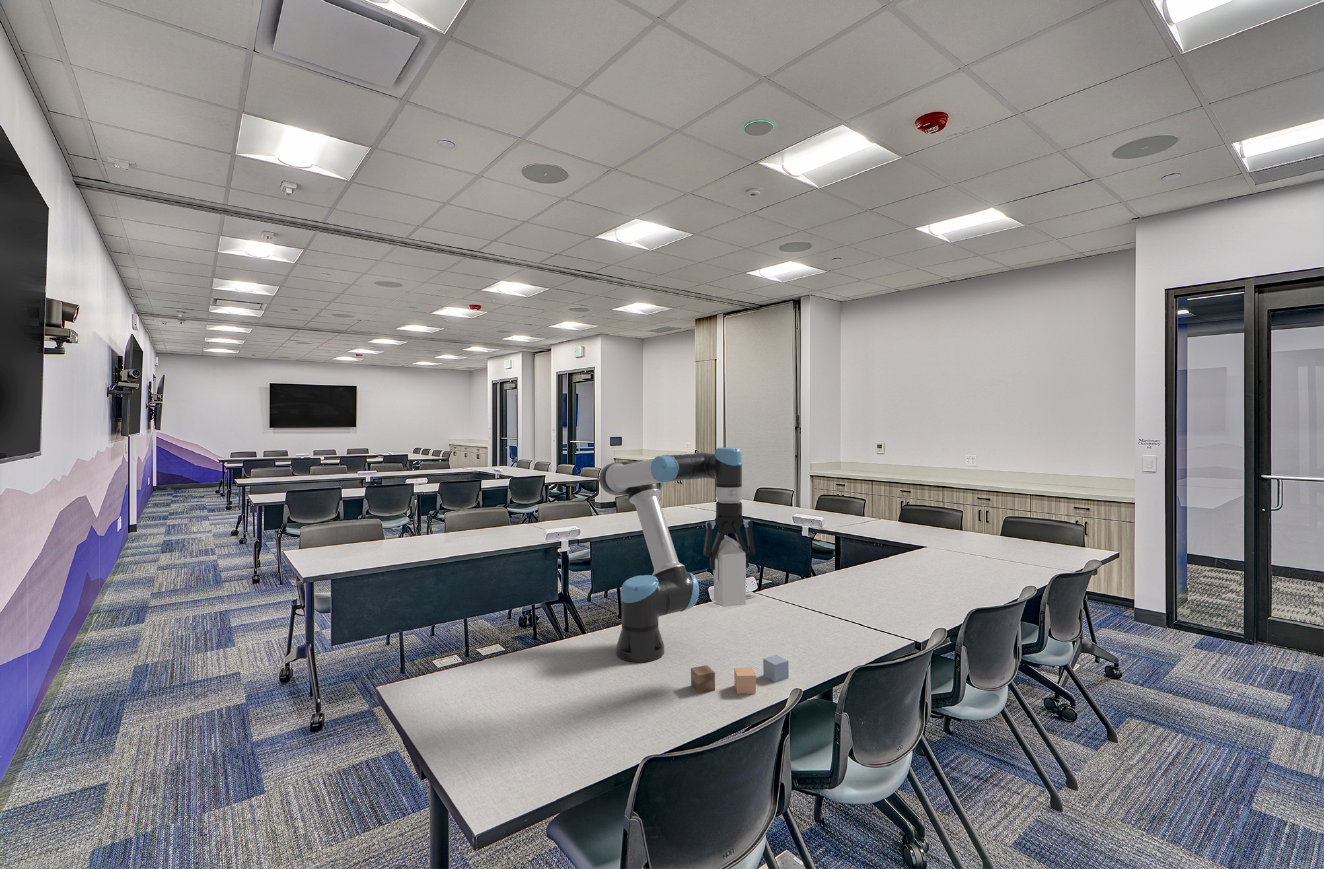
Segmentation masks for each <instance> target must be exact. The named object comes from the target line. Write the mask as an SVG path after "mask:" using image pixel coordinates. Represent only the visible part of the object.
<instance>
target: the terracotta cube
mask: <svg viewBox="0 0 1324 869" xmlns="http://www.w3.org/2000/svg"><path fill="white" fill-rule="evenodd" d="M733 669H734V670H733V671H734V678H733V680H734V684H733V686H734V688H735V691H737V692H736V694H737V695H739V694H738V693H756V694H757V690H756V689H757V687H756V686H757V681H756V680H757V675H756V674H755V673H756V672H755V670H754V668H753V667H734V668H733Z"/></svg>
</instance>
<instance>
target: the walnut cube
mask: <svg viewBox="0 0 1324 869" xmlns="http://www.w3.org/2000/svg"><path fill="white" fill-rule="evenodd" d="M690 686H691V687H692V688H693V690H694V691H695V692H696V693H697V694H704V693H709V692H713V691H716V672H715V671H714V670H713V669H712V668H711V667H710V666H709V664H708V665H707V664H706V665H701V666H700V665H699V666H695V667H691V668H690Z"/></svg>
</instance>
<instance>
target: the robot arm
mask: <svg viewBox="0 0 1324 869" xmlns="http://www.w3.org/2000/svg"><path fill="white" fill-rule="evenodd" d="M742 458H743V457H742V450H741V449H740V448H739V447H717V448H716V449H715V452H714V453H708V452H707V453H706V452H694V453H688V454H687V453H685V454H662V455H657V456H655V457H654V458H651V459H646V460H644V459H643V460H642V459H640V460H636V461H634V460H633V461H617V462H611V463H609V464H607V465H605V466H604V467H603V468H602V470H600V472H599V478H598V483H599V485H600V487H601V488H602V490H603V491H604V492H606V494H607V493H608V494H610V495H612V496H627V498H628V502H629V503H631V504H632V505H634V506H635V509H636V513H637V516H638V519H639V523H640V526H641V530H642V533H643V536H644V539H645V543H646V546H647V549H648V553H649V555H650V559H651V563H652V566H653V573H652V575H651V574H644V575H642V574H641V575H635V576H633V577H629V578H628V579H626V580H625V581H624V582H623V584H622V585H621V593H620V600H621V602H620V603H621V608H620V609H621V629H620V633H619V638H618V640H617V644H616V656H617V657H618V658H619V659H620V660H623V661H627V662H632V663H646V662H647V663H648V662H651V661H655V660H659V659H660V658H662V657H663V656H664V654H665V644H664V640H663V637H662V635H661V631H660V628H659V617H662V616H663V617H664V616H667V615H670V614H675V613H678V612H684V611H686V610H688V609H689V610H690V609H691V608H693V607H694V606H695V605H696V604H697V602H698V599H699V594H700V586H699V581H698V580H697V577H696V576H695V575H694V574H693V573H692V572H690V571H689V572H688V571H687V569H686V566H685V565H684V564H683V563H680V562H679V559H678V556H677V551H676V549H675V547H674V543H673V539H672V537H671V536H672V535H671V534H670V529H669V526H668V523H667V521H666V518H665V515H664V511H663V509H662V505H661V502H660V499H659V497H660V495H661V493H662V491H661V490H662V488H663V486H664V483H668V482H669V483H671V482H676V481H685V480H686V481H688V480H699V479H713V480H715V500H716V502H715V518H714V520H711V521H705V529H706V531H705V538H704V545H703V552H702V554H703V555H704V557H706V558H709V568H710V570H711V571H712V577H713V579H712V580H713V582H714V581H715V582H718V559H717V558H716V555H717V552H718V549H719V547H720V544H721V542H722V541H723V540H724V539H723V538H724V535H729V534H733V535H734V536H735V538H736V541H737V542H738V543H739V544H740V546H739V548H740V549H741V550H742V551H744V552H745V560H746V569H748V568H749V567H750V558H751V556H754V555H755V554H756V549H755V548H756V547H755V542H754V541H755V540H754V535H753V524H754V522H753V521H752V520H750V519H744V518H743V502H742V499H743V480H742V479H743V459H742ZM715 525H716V527H717V528H718V531H717V533H716V536H715V539H714V542H713V544H712V537H713V529H714V528H715ZM742 525H743V526H744V528H745V535H746V541H747V542H746V543H745V540H744V539H743V536H742V533H741V529H740V528H741V527H742ZM746 544H747V546H746ZM711 546H712V547H711ZM747 547H748V548H747Z"/></svg>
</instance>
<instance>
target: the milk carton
mask: <svg viewBox="0 0 1324 869" xmlns="http://www.w3.org/2000/svg"><path fill="white" fill-rule="evenodd" d="M723 538H724V539H722V541H721V544H720V547H719V549H718V552H717V555H716V558H717V559H718V582H715V581H714V580H713V600H714V601H715V602H716V603H717V604H719V605H720V606H721V607H726V608H727V607H735V606H744V605H745V606H746V604H747V600H746V599H747V598H746V597H747V593H746V592H747V588H746V587H747V586H746V582H747V578H746V577H747V575H746V574H747V572H746V570H747V568H746V560H745V552H744V551H742V550H741V548H740V544H739V543H738V541H737V540H735V539H734V538H731V537H730V536H728V535H727V534H725V535H724V537H723Z"/></svg>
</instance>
